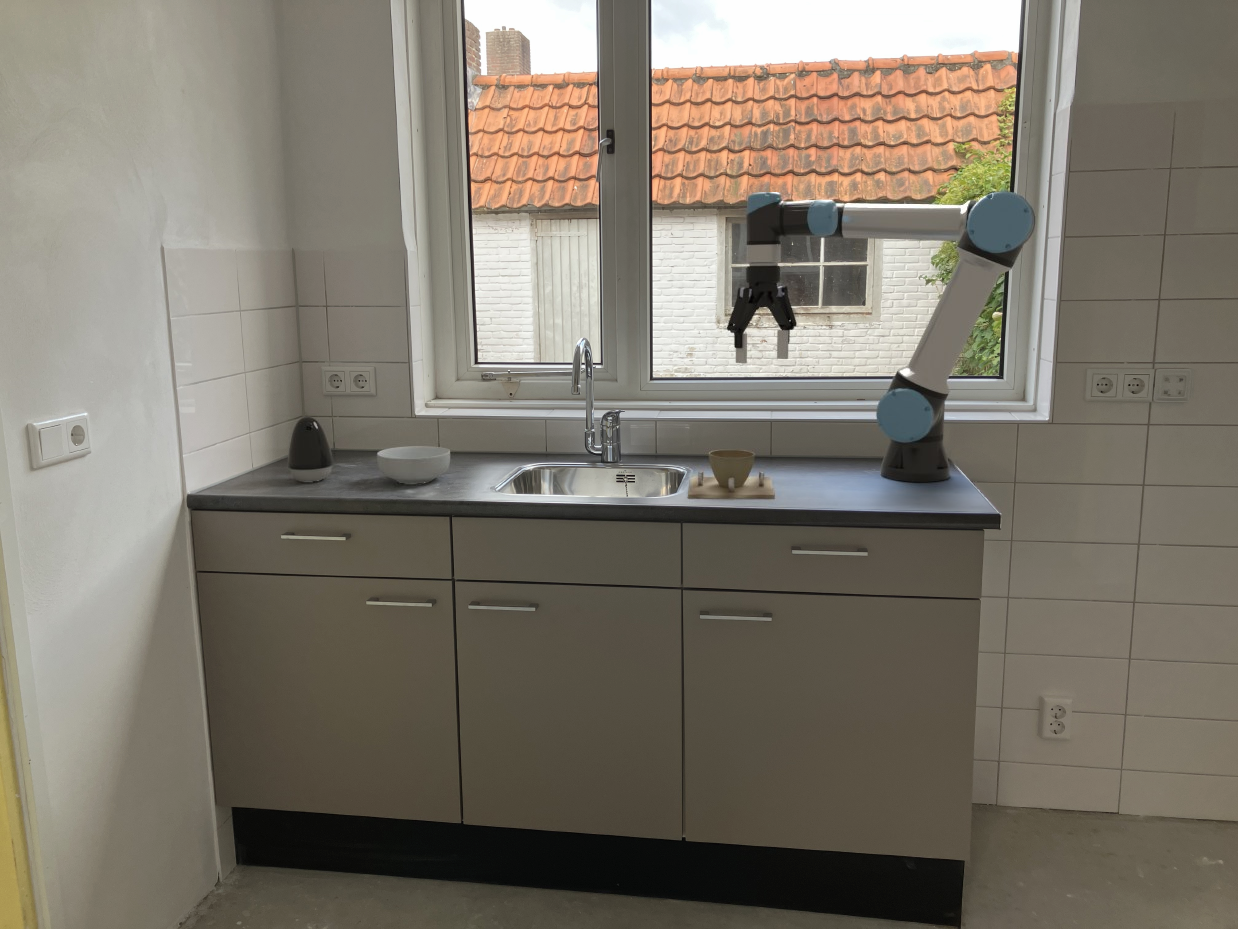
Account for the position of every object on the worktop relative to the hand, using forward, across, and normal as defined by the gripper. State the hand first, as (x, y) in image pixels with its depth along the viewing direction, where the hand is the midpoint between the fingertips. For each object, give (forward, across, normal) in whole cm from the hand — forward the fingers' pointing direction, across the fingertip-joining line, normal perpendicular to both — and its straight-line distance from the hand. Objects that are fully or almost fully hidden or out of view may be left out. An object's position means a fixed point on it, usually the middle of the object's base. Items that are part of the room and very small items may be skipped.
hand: (762, 361), depth 226 cm
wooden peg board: (+27, +14, +4) cm, 30 cm away
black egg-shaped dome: (+27, +78, -70) cm, 109 cm away
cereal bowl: (+27, +61, -52) cm, 85 cm away
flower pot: (+26, +14, +4) cm, 30 cm away
